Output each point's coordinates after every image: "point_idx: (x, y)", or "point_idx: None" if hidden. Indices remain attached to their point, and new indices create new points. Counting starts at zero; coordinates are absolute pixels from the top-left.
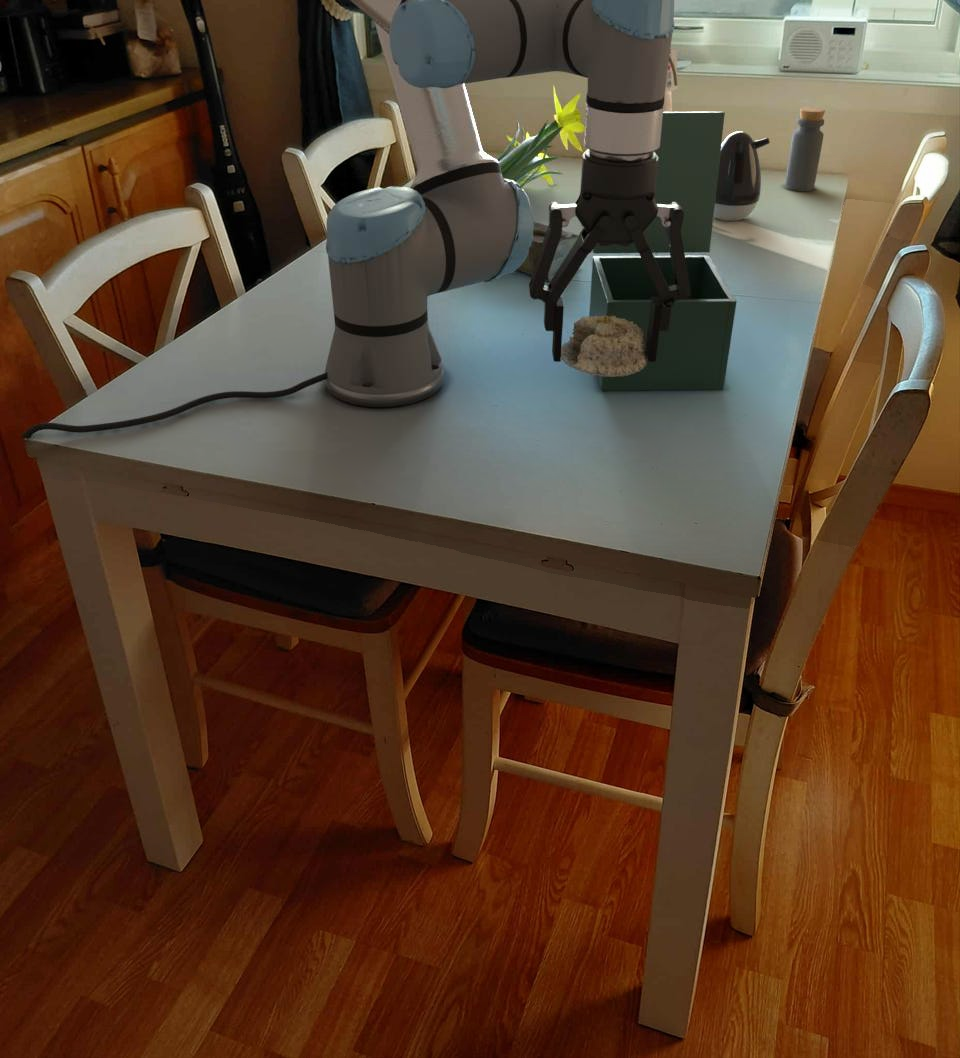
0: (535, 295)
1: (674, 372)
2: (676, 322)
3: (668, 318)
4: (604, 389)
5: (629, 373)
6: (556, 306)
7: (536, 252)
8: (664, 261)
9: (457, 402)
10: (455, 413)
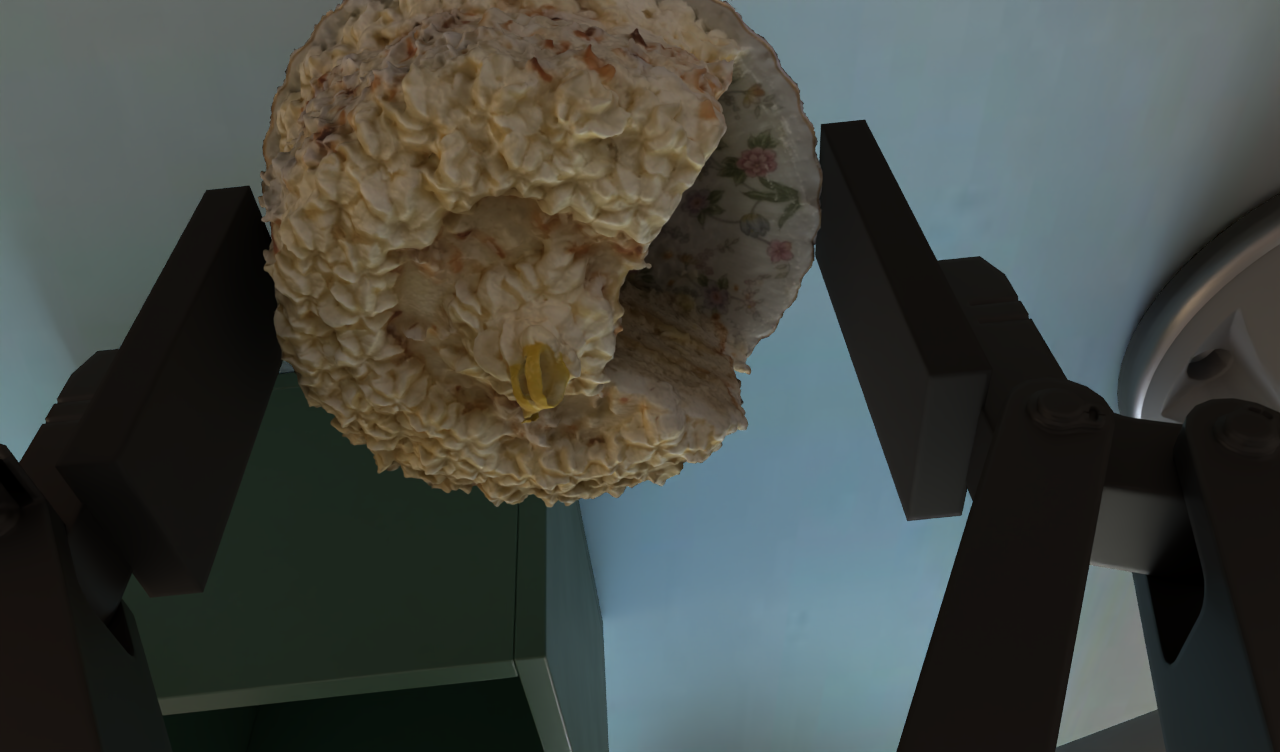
0: (1244, 420)
1: (261, 425)
2: (222, 602)
3: (56, 418)
4: None
5: (350, 6)
6: (984, 381)
7: None
8: None
9: (1112, 212)
10: (1145, 126)
